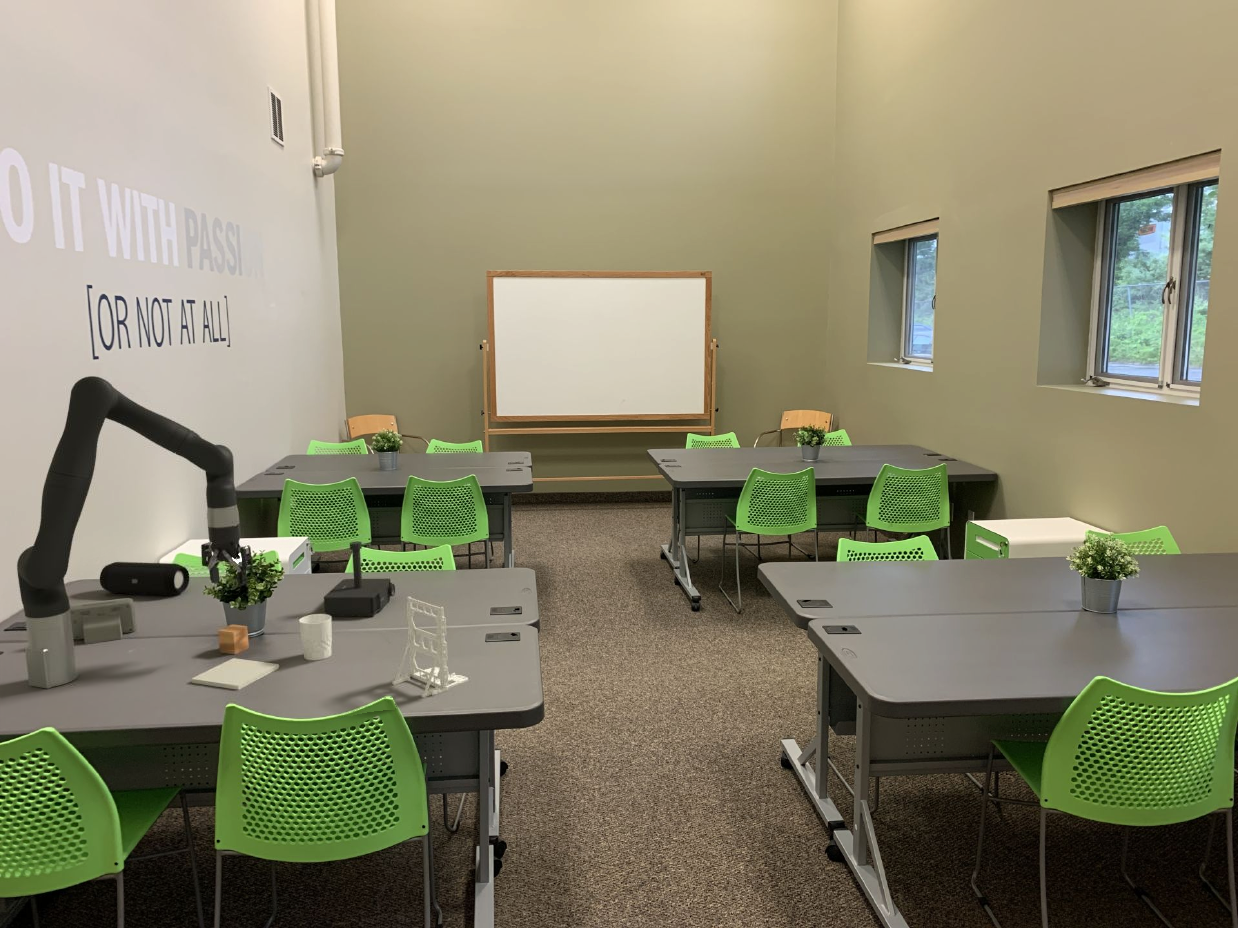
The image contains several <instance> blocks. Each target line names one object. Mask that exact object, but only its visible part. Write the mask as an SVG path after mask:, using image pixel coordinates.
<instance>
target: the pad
mask: <svg viewBox="0 0 1238 928" xmlns="http://www.w3.org/2000/svg"><path fill="white" fill-rule="evenodd" d="M279 669H280V665H279V664H278V663H271V662H262V661H259V660H257V661H256V660H249V659H243V658H242V659H241V658H236V657H233V658H231V659H229V660H227V661H225V662H222V663H220V664H218V665H216V666H215V667H212V668H210V669H209V670H206V671H204V672H202V673H200V674H199V675H198V674H197V675H196V676H194V677H192V678H191V683H192V684H199V685H203V686H204V685H205V686H210V687H217V688H225V689H232V690H242V689H243V688H245V687H246V686H249V685H250V684H252V683H254V682H256V681H257V680H259V679H261V678H263V677H265V676H267V675H269V674H271V673H273V672H275V671H276V670H279Z"/></svg>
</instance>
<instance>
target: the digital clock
mask: <svg viewBox="0 0 1238 928" xmlns="http://www.w3.org/2000/svg"><path fill="white" fill-rule="evenodd" d="M70 614H71V623H72V632H73V640H84V644H85V645H88V644H89V643H90V644H95V643H102V641H104V642H109V641H110V642H111V641H117V640H122V639H123V634H128V633H132V632H136V630H137V628H138V624H137V618H136V617H137V616H136V609H135V603H134V599H133V598H131V597H130V598H129V597H128V598H116V599H110V600H109V599H108V600H102V601H92V602H84V603H78V604H72V605H70Z"/></svg>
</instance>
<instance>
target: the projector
mask: <svg viewBox="0 0 1238 928" xmlns="http://www.w3.org/2000/svg"><path fill="white" fill-rule="evenodd" d="M362 548H363V545H362V541H352V542H349V550H351V552H352V553H351V554H352V569H353V578H345V579H342V580H341V581H339V582H338V583H337V584H336V585H335V586H334V587H333V588H332V589H331V590H329V591H328V593H326V594H325V595H324V596H323V606H324V607H323V608H324V614H327V615H330V616H331V618H334V617H337V618H338V617H339V618H341V617H344V618H345V617H348V618H349V617H351V618H352V617H374V616H375V615H376V614H378V613H380V612H381V611H382V610H383V609H384V607H386V605H387V604H388V603H389V602H390V601H391V597H394V596H395V594H396V585H395V584H394V583H393V582H391V578H363V577H362V576H363V575H362V563H361V562H362V561H361V559H362V558H361V549H362Z"/></svg>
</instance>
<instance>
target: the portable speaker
mask: <svg viewBox="0 0 1238 928" xmlns="http://www.w3.org/2000/svg"><path fill="white" fill-rule="evenodd" d="M99 583H100V586H101V587H102V589H104V590H105V591H107V592H110V593H112V594H121V595H126V594H127V595H148V596H176V595H178V594H181V593H184V592H185V591H186V590H187V588H188V586H189V583H190V573H189V570H188V568H187V567H185V566H183V565H181V564H179V563H172V562H171V563H168V562H167V563H165V562H163V563H162V562H135V561H134V562H133V561H132V562H130V561H115V562H111V563H109V564H106V565H105V566H104V567H103V568H102V569H101V571H100V575H99Z"/></svg>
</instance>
